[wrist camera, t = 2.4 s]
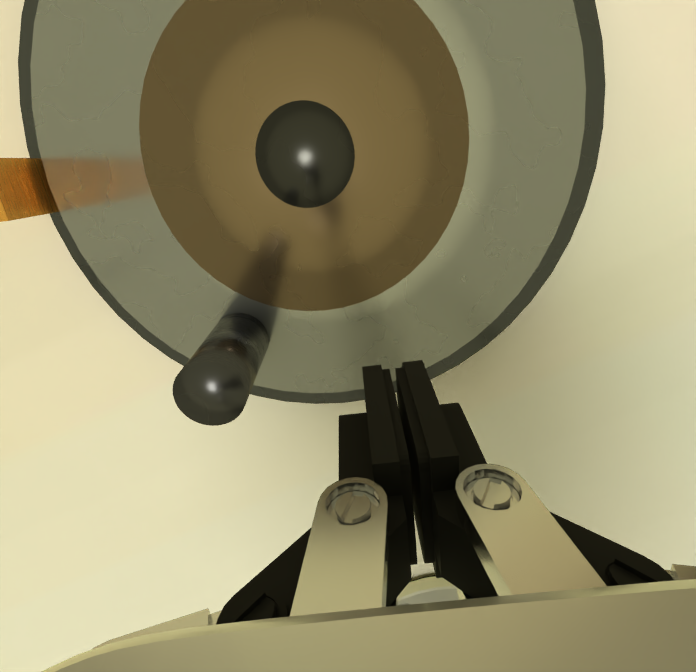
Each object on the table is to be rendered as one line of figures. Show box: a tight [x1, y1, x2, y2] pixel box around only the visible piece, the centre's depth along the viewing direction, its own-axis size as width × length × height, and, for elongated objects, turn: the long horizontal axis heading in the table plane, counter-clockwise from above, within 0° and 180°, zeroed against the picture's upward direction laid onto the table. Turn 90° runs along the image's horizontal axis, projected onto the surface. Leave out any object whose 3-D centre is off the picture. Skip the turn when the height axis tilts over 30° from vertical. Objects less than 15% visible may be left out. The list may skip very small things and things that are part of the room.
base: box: [0, 0, 605, 404], centre depth 17 cm, size 24×24×6 cm
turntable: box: [30, 0, 586, 425], centre depth 15 cm, size 20×20×7 cm
